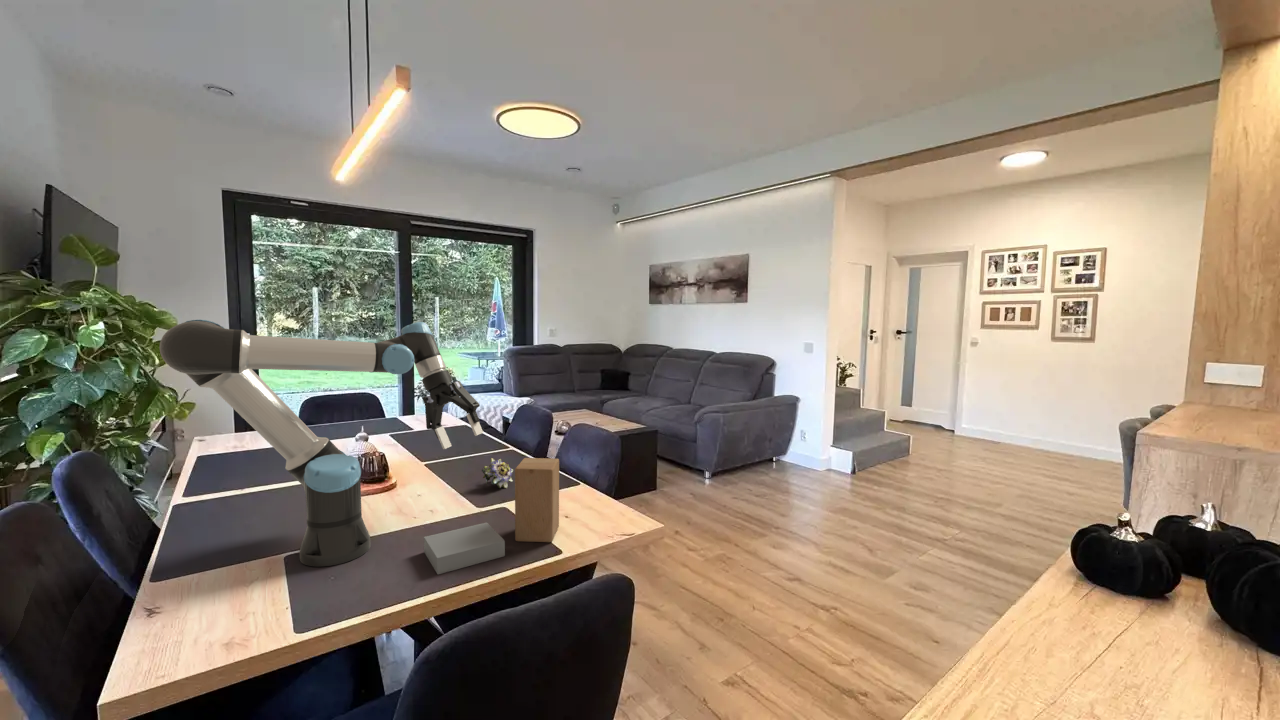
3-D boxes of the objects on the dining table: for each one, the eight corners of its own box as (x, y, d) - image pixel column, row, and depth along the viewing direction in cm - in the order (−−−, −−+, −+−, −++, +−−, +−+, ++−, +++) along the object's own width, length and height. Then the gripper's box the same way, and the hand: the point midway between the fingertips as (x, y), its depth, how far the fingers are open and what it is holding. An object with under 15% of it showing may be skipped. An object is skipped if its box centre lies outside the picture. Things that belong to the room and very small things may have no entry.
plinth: (437, 574, 116) (437, 558, 116) (424, 552, 127) (423, 536, 126) (504, 556, 126) (504, 540, 125) (487, 536, 136) (486, 522, 136)
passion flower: (504, 503, 174) (499, 482, 166) (477, 494, 176) (470, 473, 168) (520, 477, 182) (516, 456, 174) (493, 468, 184) (488, 448, 176)
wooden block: (552, 543, 133) (552, 469, 131) (514, 541, 133) (514, 468, 131) (559, 526, 143) (559, 458, 141) (524, 525, 143) (524, 457, 141)
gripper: (472, 356, 144) (502, 424, 144) (417, 385, 155) (444, 449, 155) (453, 360, 137) (484, 432, 137) (396, 391, 148) (425, 457, 148)
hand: (463, 441), depth 146 cm, fingers open, 13 cm apart
